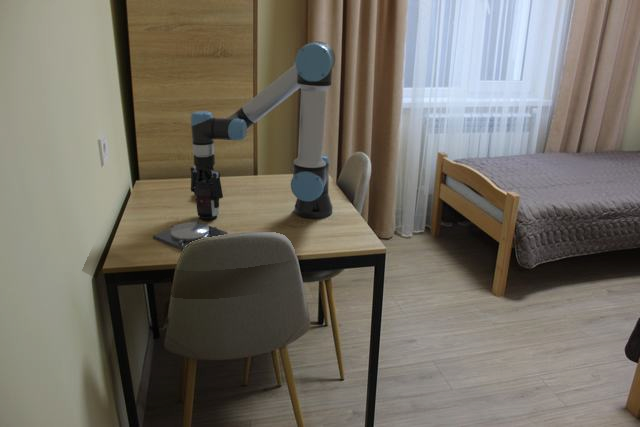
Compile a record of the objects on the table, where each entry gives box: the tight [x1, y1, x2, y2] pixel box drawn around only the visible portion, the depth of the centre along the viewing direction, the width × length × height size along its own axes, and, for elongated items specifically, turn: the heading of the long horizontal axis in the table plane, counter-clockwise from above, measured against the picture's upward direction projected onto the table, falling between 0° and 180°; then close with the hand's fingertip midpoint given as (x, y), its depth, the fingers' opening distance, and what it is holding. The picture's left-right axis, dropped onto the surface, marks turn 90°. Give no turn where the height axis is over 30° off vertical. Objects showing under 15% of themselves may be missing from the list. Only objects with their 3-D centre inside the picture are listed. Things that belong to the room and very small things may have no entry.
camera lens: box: [194, 179, 218, 222], centre depth 194 cm, size 8×8×15 cm
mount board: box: [152, 220, 228, 251], centre depth 179 cm, size 18×18×3 cm
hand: (207, 212), depth 195 cm, fingers closed on camera lens, 8 cm apart
